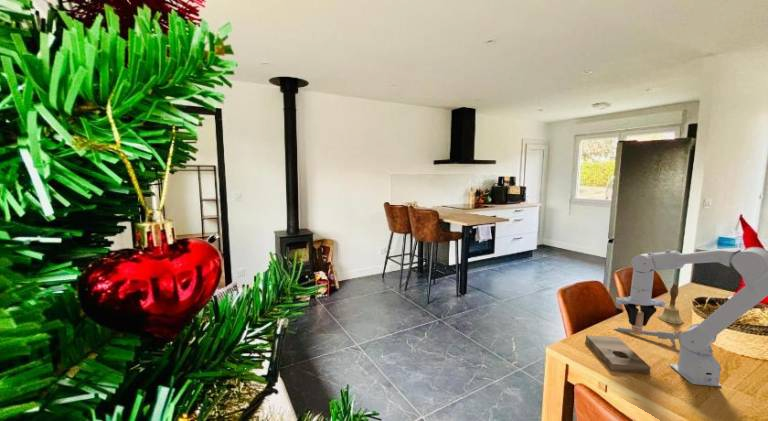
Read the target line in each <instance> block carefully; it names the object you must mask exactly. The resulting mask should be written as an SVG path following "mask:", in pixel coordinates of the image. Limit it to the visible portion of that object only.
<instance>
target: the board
mask: <svg viewBox="0 0 768 421" xmlns="http://www.w3.org/2000/svg"><path fill="white" fill-rule="evenodd" d="M585 342H586V343H587V345H588V346H590V348H591V349H592V350H593V351H594V353H596V355H597V356H598V357H599V358H600V360H601V361H603V363H604V364H605V365H606V367H608V368H609V370H610V371H611V372H621V373H629V372H633V373H632V374H640V373H641V374H643V375H650V374H651V366H650V364H648V363H647V362H646V361H645V360H643V359H642V357H640V356H639V355H638V353H636V352H635V351H634V350H632V349H631V347H629V346H628V345H627V344H626V343H625V342H624V341H623V340H622V339H620V337H619V336H606V335H605V336H603V335H592V334H586V335H585Z"/></svg>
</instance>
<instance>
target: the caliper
mask: <svg viewBox="0 0 768 421" xmlns="http://www.w3.org/2000/svg"><path fill="white" fill-rule="evenodd" d="M613 330H615V331H619V332H622V333H627V334H633V333H632V328H629V327H621V326H618V327H614V328H613ZM680 334H681V333H680V330H677V331H676V330H675V329H674V331H673V332H672V331H671V332H670V331H663V330H662V331H661V330H657V331H653V330H645V329H642V331H641V335H642V336H652V337H657V338H658V340H659V339H661V340H669V341H670V342H671V345H673V347H677V346H676V339H677V340H678V343H679V346H680V345H681V342H680V338H679V337H680Z"/></svg>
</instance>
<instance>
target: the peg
mask: <svg viewBox="0 0 768 421" xmlns="http://www.w3.org/2000/svg"><path fill="white" fill-rule="evenodd" d="M643 320H644V312H643V311H641V310H640V309H639V311H638V313H637V316H636V322H635V325H631V329H632V333H631V334H634V335H642V334H641V331H642V330H643V328H644V326H643Z"/></svg>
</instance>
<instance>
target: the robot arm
mask: <svg viewBox="0 0 768 421" xmlns="http://www.w3.org/2000/svg"><path fill="white" fill-rule="evenodd" d="M704 263H705V264H707V263H710V264H711V263H719V264H722V265H724V266H726V267H731V266H732V267H733V268H734V269H735V270H736V272H738V274H739V275H741V278H742V280H743V283H744V285H745V286H743V287H742V288H741V289H740V290H738V291H737V292H736V293H734V294H733V295H732V297H730V298H729V299H728V300H727V301H725V302H724V303H723V304H722V305H719V307H718V308H717V309H715V311H713V312H712V313H711V314H709V315H708V316H707V317H705V318H704V320H702V321H701V322H700V323H695V324H692V325H691V326H690V327H689V328H688V329H686V330H684V331H683V332H681V333H680V337H679V338H680V342H681V345H680V344H679V354H678V361H677V364H674V363H673V364H672V363H670V364H669V365H670V367H671V368H672V369H673V370H675V371H676V372H677V373H678V374H679V375H681V376H682V377H683V378H684V379H686V380H687V381H688V382H689V383H690V384H692V385H697V386H698V385H699V386H711V387H719V388H720V387H722V384H721V383H720V378H721V373H722V372H721V370H722V366H721V363H720V362H719V361H718V360H717V359H716V358H715V357H714V354H713V352H714V350H713V348H712V346H711V345H712V344H714V343H715V342H716V341H717V340H716V339H717V337H718V335H719V334H720V333H722V332H723V331H724V330H725V329H727V328H729V326H730V325H732V324H733V323H734V322H736V321H737V320H738V319H739V318H741V317H742V316H743V315H745V314H746V313H748V312H749V311H751V309H753V308H754V307H755V306H757V305H758V304H759V303H760V302H761V301H763V300H764V299H765V298H767V297H768V250H767V249H765V248H762V247H758V246H755V247H754V246H751V247H747V248H744V247H728V248H726V247H725V248H718V249H710V250H709V249H708V250H703V251H702V250H701V251H695V252H689V253H687V252H686V253H681V252H679V251H678V250H672V249H665V250H664V251H662V252H652V251H649V252H647V253H641V254H638V255H635V256H634V257H633V258H632V259H631V261H630V264H631V268H632V276H631V287H630V295H629V296H623V297H615V303H616V304H617V305H620V306H622V305H623V306H624V309H625V311H626V313H627V314H626V315H627V317H628V323H629V324H630V325H631V326H632V325H635V322H636V316H637V313H638V311H639V310H640V311H643V312H644V320H643V327H646V326H647V324H648V322H649V320H650V318H651V317H652V316H653V315H654V314H655V313H657V308H656V307H660V308H665V307H666V302H665V301H664V300H662V299H654V298H652V293H653V285H654V275H655V270H656V271H663V270H676V269H682V268H683V267H684V266H685V265H688V264H690V265H691V264H704ZM637 306H639V307H640V308H637Z"/></svg>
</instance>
